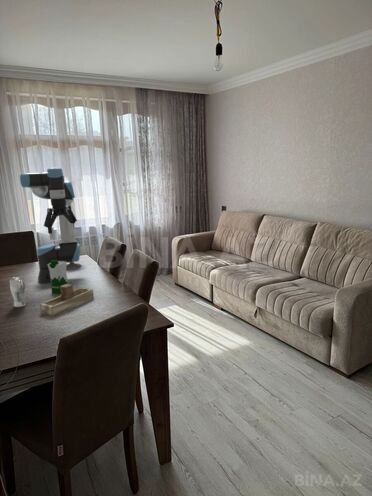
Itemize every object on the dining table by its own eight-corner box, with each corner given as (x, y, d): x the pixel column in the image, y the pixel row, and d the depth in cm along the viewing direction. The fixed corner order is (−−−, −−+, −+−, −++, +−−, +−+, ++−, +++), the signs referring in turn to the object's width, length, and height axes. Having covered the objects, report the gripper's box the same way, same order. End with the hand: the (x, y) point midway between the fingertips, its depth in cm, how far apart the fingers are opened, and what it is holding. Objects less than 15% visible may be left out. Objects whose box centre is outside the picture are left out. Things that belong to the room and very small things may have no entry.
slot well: (41, 313, 175) (39, 304, 174) (81, 295, 198) (80, 287, 197) (53, 316, 170) (52, 307, 169) (93, 298, 193) (92, 289, 192)
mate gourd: (78, 268, 255) (75, 241, 250) (59, 269, 255) (56, 242, 250) (84, 262, 270) (81, 237, 265) (66, 263, 270) (63, 238, 265)
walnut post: (62, 304, 183) (60, 286, 181) (68, 301, 187) (66, 283, 185) (68, 305, 181) (66, 287, 179) (74, 302, 185) (72, 284, 182)
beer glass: (16, 303, 190) (12, 277, 187) (29, 302, 191) (25, 276, 187) (11, 308, 183) (6, 281, 180) (24, 307, 184) (20, 280, 180)
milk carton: (49, 294, 203) (45, 261, 198) (59, 288, 211) (55, 257, 206) (61, 295, 200) (57, 261, 195) (71, 290, 208) (68, 257, 204)
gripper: (43, 200, 171) (48, 242, 176) (80, 195, 192) (84, 233, 197) (33, 200, 175) (38, 241, 180) (71, 195, 196) (75, 232, 201)
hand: (62, 237), depth 188 cm, fingers open, 13 cm apart
